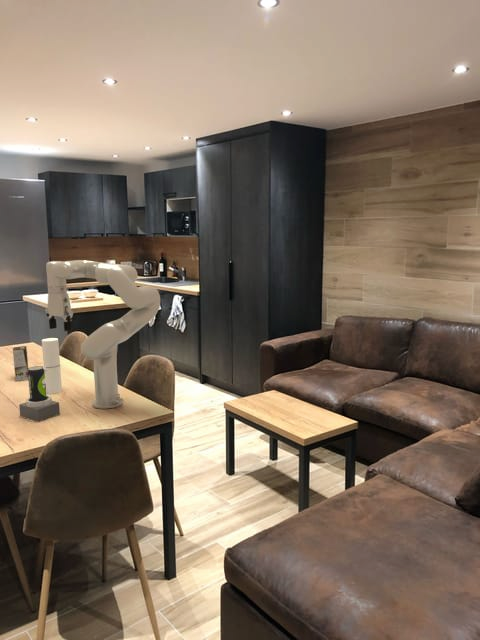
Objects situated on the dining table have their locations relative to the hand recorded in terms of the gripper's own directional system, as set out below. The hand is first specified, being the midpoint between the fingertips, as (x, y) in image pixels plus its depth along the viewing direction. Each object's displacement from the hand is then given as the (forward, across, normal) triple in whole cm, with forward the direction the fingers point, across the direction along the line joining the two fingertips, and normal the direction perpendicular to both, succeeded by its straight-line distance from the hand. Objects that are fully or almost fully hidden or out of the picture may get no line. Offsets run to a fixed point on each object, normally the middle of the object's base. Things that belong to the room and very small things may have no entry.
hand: (60, 329), depth 217 cm
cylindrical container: (+32, +16, -6) cm, 37 cm away
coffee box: (+32, +49, -12) cm, 60 cm away
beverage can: (+28, -6, +18) cm, 33 cm away
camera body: (+32, -6, +18) cm, 37 cm away
